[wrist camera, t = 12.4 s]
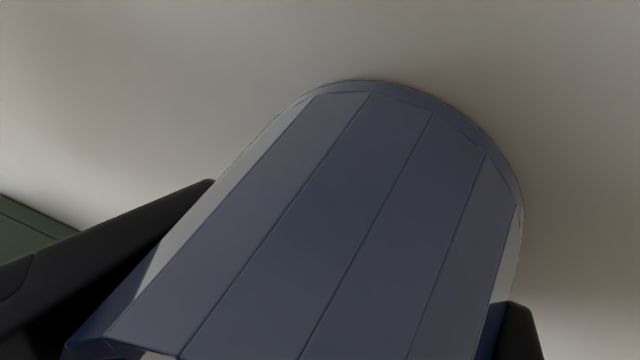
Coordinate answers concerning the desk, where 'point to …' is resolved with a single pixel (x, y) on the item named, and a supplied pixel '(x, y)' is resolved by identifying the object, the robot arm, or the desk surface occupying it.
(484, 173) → the small cup
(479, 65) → the desk surface
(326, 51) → the desk surface
